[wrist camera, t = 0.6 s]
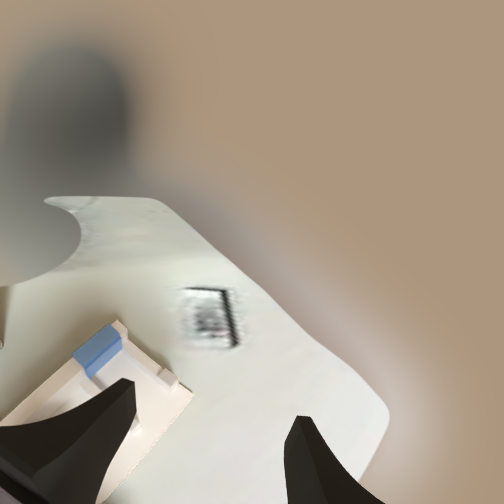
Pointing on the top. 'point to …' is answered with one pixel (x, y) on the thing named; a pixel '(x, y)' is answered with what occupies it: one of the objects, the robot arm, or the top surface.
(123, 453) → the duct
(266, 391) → the top surface
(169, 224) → the top surface
